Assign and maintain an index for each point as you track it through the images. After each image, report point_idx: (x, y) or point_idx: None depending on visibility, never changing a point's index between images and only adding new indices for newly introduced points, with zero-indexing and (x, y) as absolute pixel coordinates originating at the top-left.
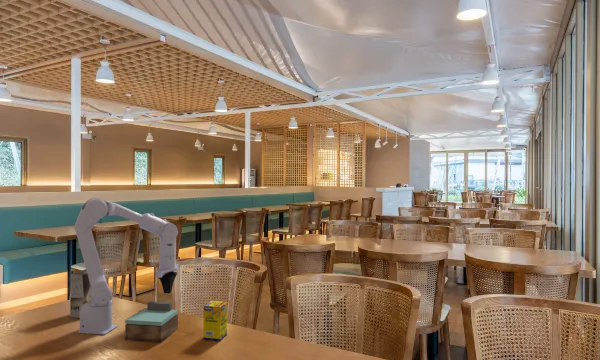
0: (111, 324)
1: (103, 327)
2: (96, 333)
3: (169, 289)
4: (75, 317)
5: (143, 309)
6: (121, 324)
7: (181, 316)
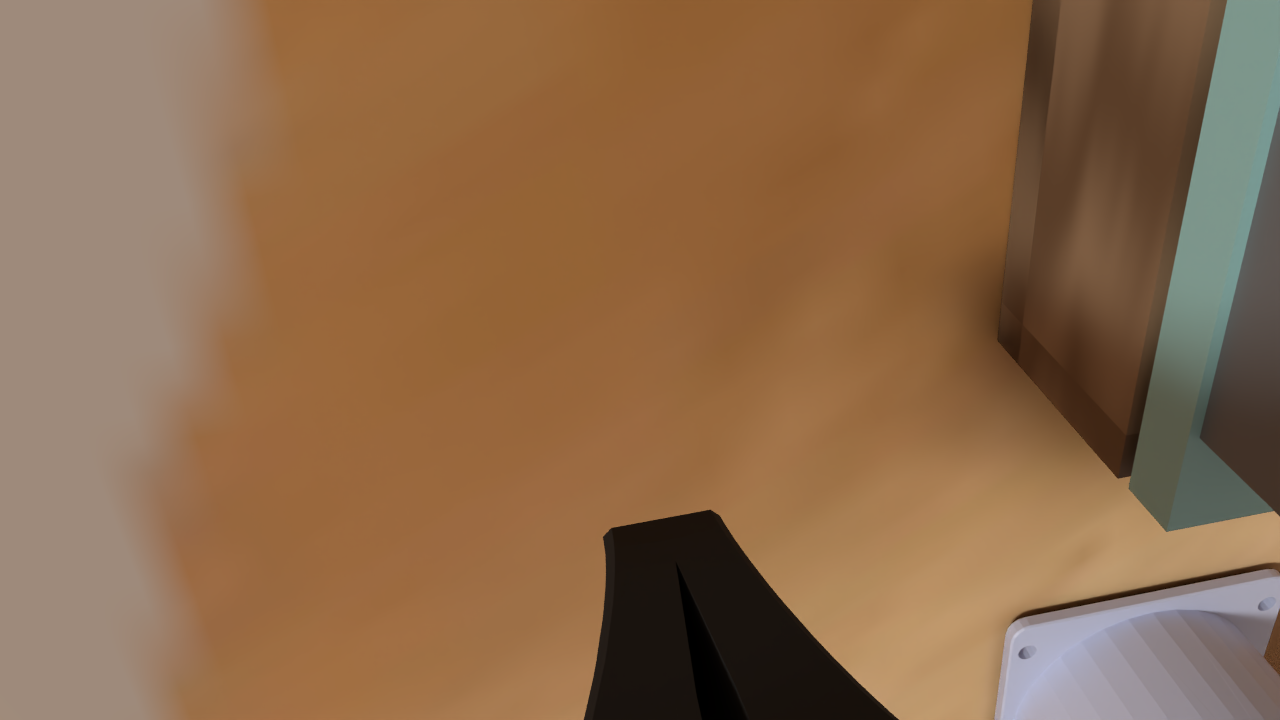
0: (1153, 653)
1: (1259, 654)
2: (1264, 639)
3: (763, 587)
4: None
5: (1251, 497)
6: (928, 629)
7: (361, 71)
